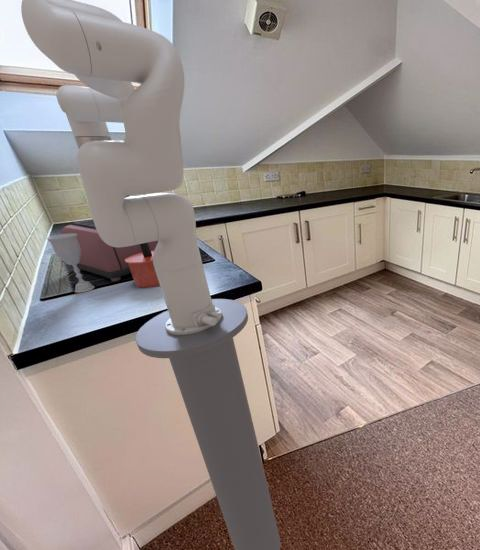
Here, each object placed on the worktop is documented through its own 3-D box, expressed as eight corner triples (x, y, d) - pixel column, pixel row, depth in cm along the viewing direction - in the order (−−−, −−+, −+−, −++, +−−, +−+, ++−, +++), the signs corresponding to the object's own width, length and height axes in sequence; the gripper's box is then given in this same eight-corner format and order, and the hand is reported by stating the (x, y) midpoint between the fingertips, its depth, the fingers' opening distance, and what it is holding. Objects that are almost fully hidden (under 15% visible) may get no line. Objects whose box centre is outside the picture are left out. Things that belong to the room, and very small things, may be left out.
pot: (182, 276, 106) (175, 254, 103) (148, 289, 97) (140, 265, 93) (162, 272, 111) (155, 250, 108) (128, 284, 101) (119, 260, 98)
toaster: (206, 252, 132) (196, 212, 125) (112, 283, 102) (93, 232, 95) (165, 245, 145) (154, 208, 138) (71, 270, 115) (51, 224, 109)
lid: (178, 255, 103) (173, 237, 101) (140, 267, 93) (133, 247, 90) (156, 251, 108) (150, 234, 106) (117, 262, 98) (110, 243, 95)
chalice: (103, 286, 100) (82, 234, 93) (81, 294, 94) (57, 239, 87) (88, 284, 102) (66, 232, 95) (65, 292, 96) (40, 238, 89)
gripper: (128, 143, 80) (148, 207, 87) (95, 146, 87) (115, 205, 94) (95, 143, 74) (119, 212, 81) (62, 146, 81) (86, 209, 88)
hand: (117, 208), depth 87 cm, fingers open, 9 cm apart
